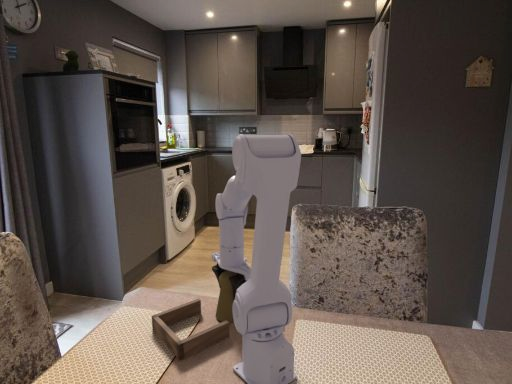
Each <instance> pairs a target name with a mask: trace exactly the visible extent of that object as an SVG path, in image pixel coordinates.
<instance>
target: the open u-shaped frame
mask: <svg viewBox="0 0 512 384" xmlns="http://www.w3.org/2000/svg"><path fill="white" fill-rule="evenodd" d="M201 300H202V299H200V298H196V299H193V300H190V301H189V302H185V303H182V304H180V305H177V306H175V307H172V308H169V309H167V310H164V311H161V312H158V313H155V314H152V315H151V325H152V331H153V332H154V333H155V335H156V336H157V337H158V338H159V339H160V340H161V341H162V342H163V344H164V345H165V346H166V347H167V348H168V349H169V351H171V352H172V354H173V356H175V358H177V360H179V361H182V360H184V359H186V358H189V357H190V356H193V355H194V354H196V353H198V352H201V351H202V350H205V349H206V348H209V347H211V346H213V345H215V344H217V343H219V342H221V341H224V340H226V339H227V338H230V323H229V322H228V321H227V320H226V321H224V322H222V321H220V322H219V323H217V324H215V325H212V326H211V327H207V328H206V329H204V330H201V331H199V332H196V333H194V334H192V335H189V336H187V337H186V338H183V339H181V338H179V336H177V334H176V333H175V332H174V331H173V330H172V329H171V328H170V326H173V325H176V324H177V323H180V322H183V321H184V320H188V319H190V318H192V317H194V316H199V314H202V301H201Z"/></svg>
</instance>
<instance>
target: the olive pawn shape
mask: <svg viewBox="0 0 512 384" xmlns="http://www.w3.org/2000/svg"><path fill="white" fill-rule="evenodd" d="M234 275H236V272H232V271H225V272H223V273H221V275H220V276H219V283H218V285H219V284H220V286H221V288H220V287H219V295H218V301H217V305H216V311H215V318H216V319H217V320H218V321H219V322H224V321H226V320H227V321H228V322H229V324H231V323H234V319H233V311H232V306H233V302H234V296H233V288H232V285H231V282H230V280H229V277H231V276H234Z"/></svg>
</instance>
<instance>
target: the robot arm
mask: <svg viewBox="0 0 512 384" xmlns="http://www.w3.org/2000/svg"><path fill="white" fill-rule="evenodd" d="M231 152H232V153H231V157H232V158H231V159H232V163H233V167H234V169H235V171H236V172H235V175H232V176H231V177H230V178H229V179H228V180H227V183H226V185H225V188H224V190H223V192H222V193H221V192H220V193H217V194H216V197H215V204H214V205H215V213H216V217H217V219H218V232H219V233H218V237H219V238H218V242H219V251H217V252H214V253H211V261H212V262H214V263H215V262H216V265H213V266H211V270H212V272H213V274H214V276H215V277H216V279H217V282H218V286H219V289H220V288H221V286H220V284H219V276H220V275H221V273H223V272H225V271H232V272H236V275H234V276H231V277H229V280H230V282H231V285H232V288H233V296H234V302H233V306H232V311H233V319H234V322H233V324H234V327H235V329H236V332H238V333H239V334H240V335H241V337H242V339H241V341H242V342H241V343H242V344H241V346H242V349H241V351H242V352H241V354H242V356H241V357H242V358H241V359H242V361H239V362H238V363H236V364H234V365H233V366H232V370H233V371H234V372H235V373H236V374H237V375H238V376H239V377H240V378H241V379H242V380H244V382H246V383H247V384H290V383H291V382H293V381H295V380H296V379H297V374H296V373H295V372H294V370H295V348H294V346H293V345H292V343H290V341H289V340H288V339H287V338H286V337H285V335H284V333H285V332H286V326H288V325H290V324H291V321H292V319H293V305H292V297H293V296H292V293H291V292H290V290H289V288H288V286H287V285H286V283H285V282H284V281H282V280H281V279H280V274H281V268H282V259H283V253H284V252H283V251H284V244H285V237H286V228H287V220H288V213H289V208H290V206H289V205H290V199H291V192H293V191H294V190H295V189H296V188H297V187H298V179H299V175H300V168H301V162H302V161H301V159H302V152H301V149H300V146H299V142H298V141H297V138H296V137H295V136H294V135H293V134H292V133H286V134H257V135H255V134H253V135H252V134H249V135H248V134H246V135H245V134H243V133H240V134H238V135H237V136H236V137H235V138H234V140H233V143H232V150H231ZM252 196H254V197H256V206H255V207H256V210H255V221H254V230H253V232H254V233H253V240H252V241H253V244H252V254H251V265H250V266H249V264H248V263H247V262H248V258H247V257H245V244H244V243H245V226H246V224H247V217H248V211H249V210H248V209H249V208H248V204H249V201H250V200H251V198H252Z"/></svg>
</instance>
